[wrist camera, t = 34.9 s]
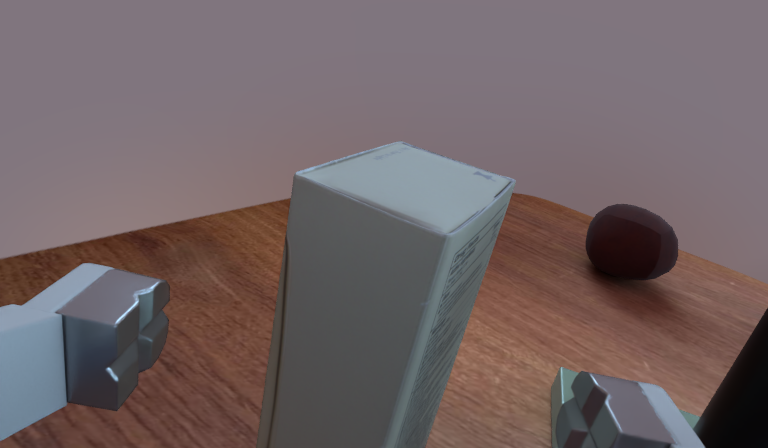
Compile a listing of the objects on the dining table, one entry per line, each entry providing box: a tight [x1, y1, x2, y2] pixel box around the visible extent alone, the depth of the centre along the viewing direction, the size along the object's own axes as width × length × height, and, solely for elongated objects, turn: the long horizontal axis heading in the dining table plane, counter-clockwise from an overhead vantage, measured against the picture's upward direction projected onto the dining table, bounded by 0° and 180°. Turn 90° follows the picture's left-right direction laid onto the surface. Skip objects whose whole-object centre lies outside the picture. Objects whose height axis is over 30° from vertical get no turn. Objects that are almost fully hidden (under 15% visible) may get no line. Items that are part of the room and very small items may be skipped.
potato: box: [586, 204, 678, 280], centre depth 41 cm, size 7×8×6 cm
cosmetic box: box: [256, 141, 515, 448], centre depth 15 cm, size 6×4×12 cm
